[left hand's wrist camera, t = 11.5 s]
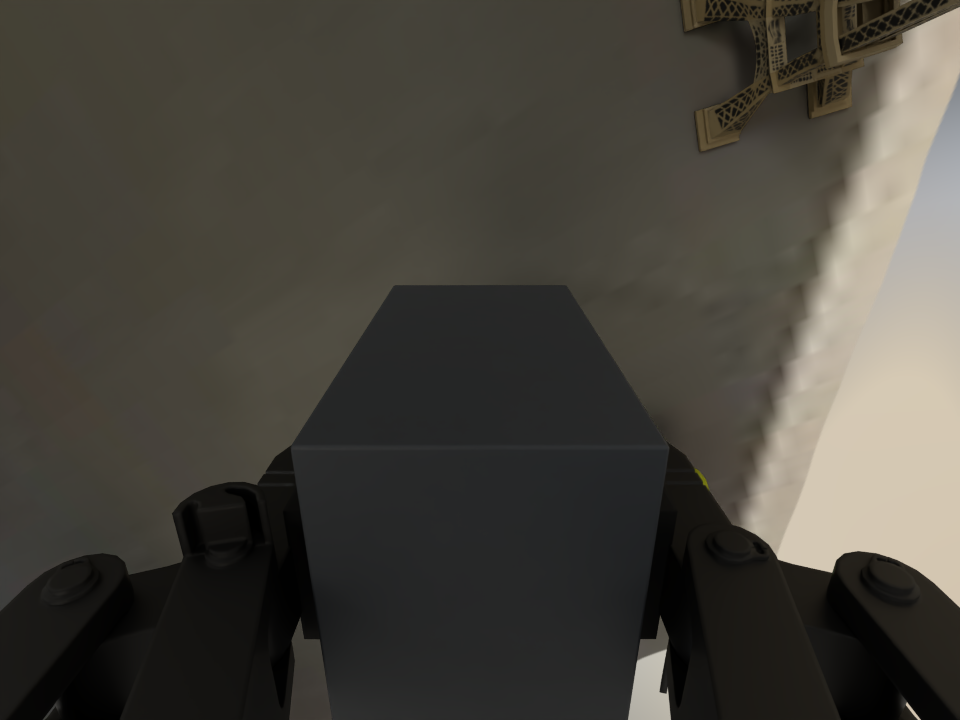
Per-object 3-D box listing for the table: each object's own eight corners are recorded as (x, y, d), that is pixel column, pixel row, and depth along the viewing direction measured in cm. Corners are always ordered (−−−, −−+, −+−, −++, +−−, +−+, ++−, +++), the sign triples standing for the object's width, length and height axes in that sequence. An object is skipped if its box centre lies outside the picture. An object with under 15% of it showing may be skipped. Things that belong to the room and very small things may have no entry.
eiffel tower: (848, 107, 37) (1459, 35, 14) (699, 151, 38) (1035, 153, 15) (844, -70, 33) (1667, -566, 10) (678, -15, 35) (1084, -351, 11)
